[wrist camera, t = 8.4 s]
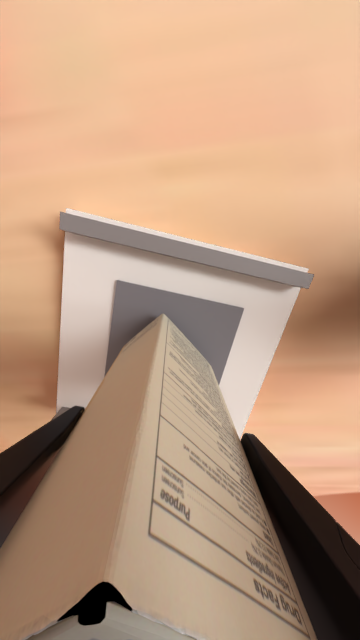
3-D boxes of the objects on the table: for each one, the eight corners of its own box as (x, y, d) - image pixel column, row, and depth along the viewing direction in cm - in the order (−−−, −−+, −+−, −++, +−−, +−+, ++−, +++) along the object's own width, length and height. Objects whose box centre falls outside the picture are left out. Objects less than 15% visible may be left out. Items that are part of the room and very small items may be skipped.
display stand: (296, 268, 15) (324, 268, 13) (232, 433, 20) (242, 461, 17) (77, 213, 14) (52, 200, 11) (65, 406, 19) (45, 432, 16)
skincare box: (122, 345, 14) (-136, 717, 2) (165, 309, 13) (84, 600, 2) (175, 397, 16) (168, 790, 4) (217, 367, 15) (364, 742, 3)
